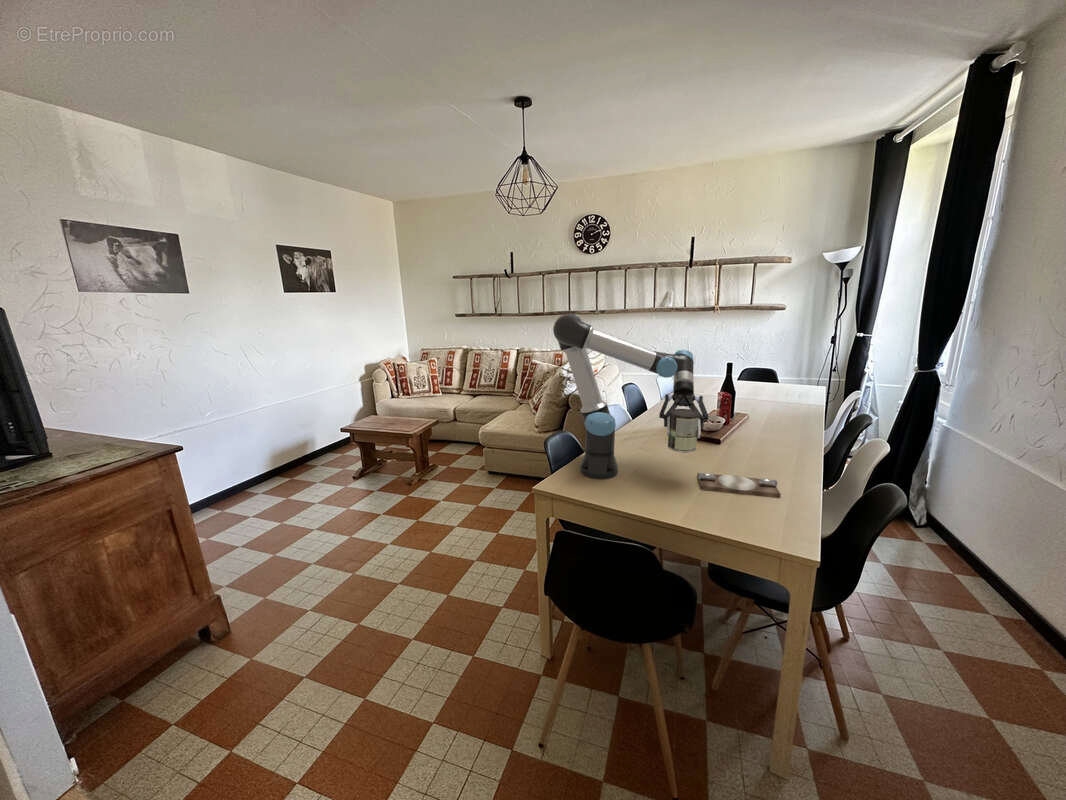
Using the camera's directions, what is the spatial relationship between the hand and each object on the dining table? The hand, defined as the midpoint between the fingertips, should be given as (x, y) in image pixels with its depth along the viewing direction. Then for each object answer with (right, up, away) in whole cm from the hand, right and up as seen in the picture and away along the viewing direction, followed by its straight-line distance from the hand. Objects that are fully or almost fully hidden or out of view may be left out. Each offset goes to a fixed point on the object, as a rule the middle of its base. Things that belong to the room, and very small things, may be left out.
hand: (683, 435), depth 151 cm
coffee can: (+1, -5, +4) cm, 7 cm away
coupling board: (+20, -19, +2) cm, 28 cm away
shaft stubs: (+20, -18, +1) cm, 27 cm away
